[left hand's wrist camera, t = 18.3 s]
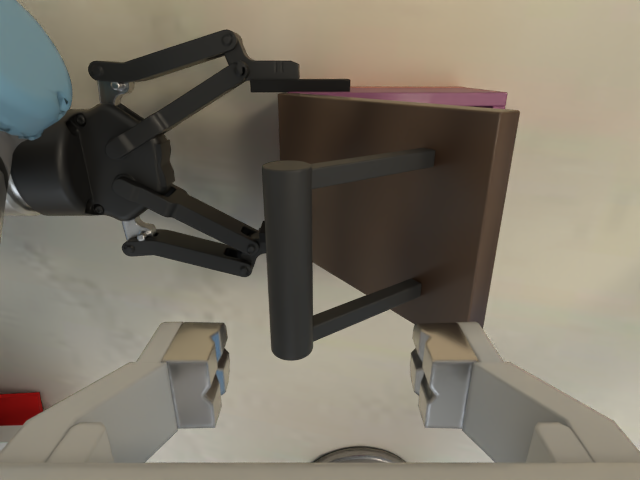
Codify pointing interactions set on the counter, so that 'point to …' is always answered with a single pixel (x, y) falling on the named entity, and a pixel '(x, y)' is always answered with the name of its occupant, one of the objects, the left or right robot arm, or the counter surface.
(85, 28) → the counter surface
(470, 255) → the lid
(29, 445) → the left robot arm
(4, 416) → the toy
